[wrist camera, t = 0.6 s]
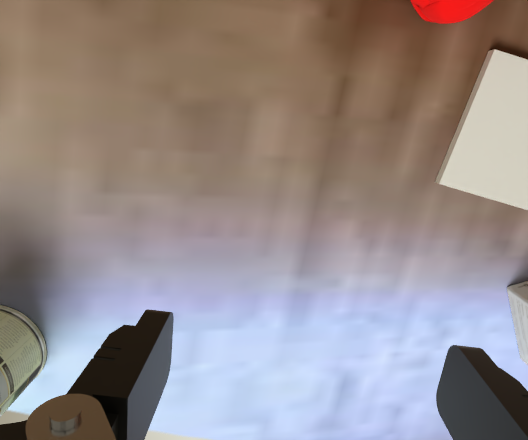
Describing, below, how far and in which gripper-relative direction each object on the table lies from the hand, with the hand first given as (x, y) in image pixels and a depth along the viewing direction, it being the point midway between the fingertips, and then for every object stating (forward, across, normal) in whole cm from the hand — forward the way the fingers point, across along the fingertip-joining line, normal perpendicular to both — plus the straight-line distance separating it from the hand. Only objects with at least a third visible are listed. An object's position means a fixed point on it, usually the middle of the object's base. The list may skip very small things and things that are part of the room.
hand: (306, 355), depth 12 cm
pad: (+28, -21, -6) cm, 36 cm away
